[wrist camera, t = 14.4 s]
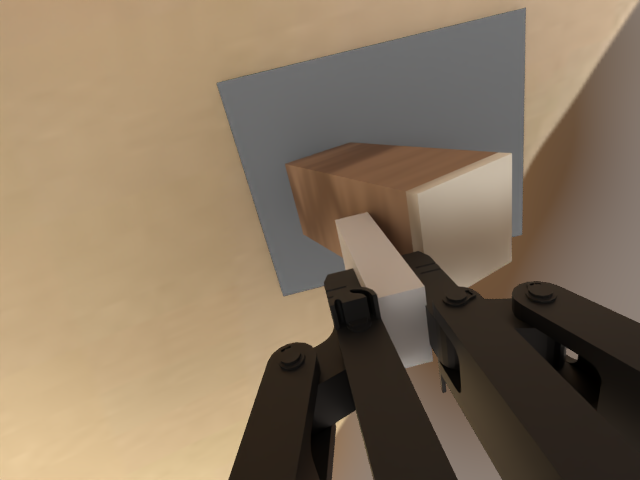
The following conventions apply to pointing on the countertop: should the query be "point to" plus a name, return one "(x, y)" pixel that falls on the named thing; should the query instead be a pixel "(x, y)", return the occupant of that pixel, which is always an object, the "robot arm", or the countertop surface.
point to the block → (413, 202)
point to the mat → (376, 119)
